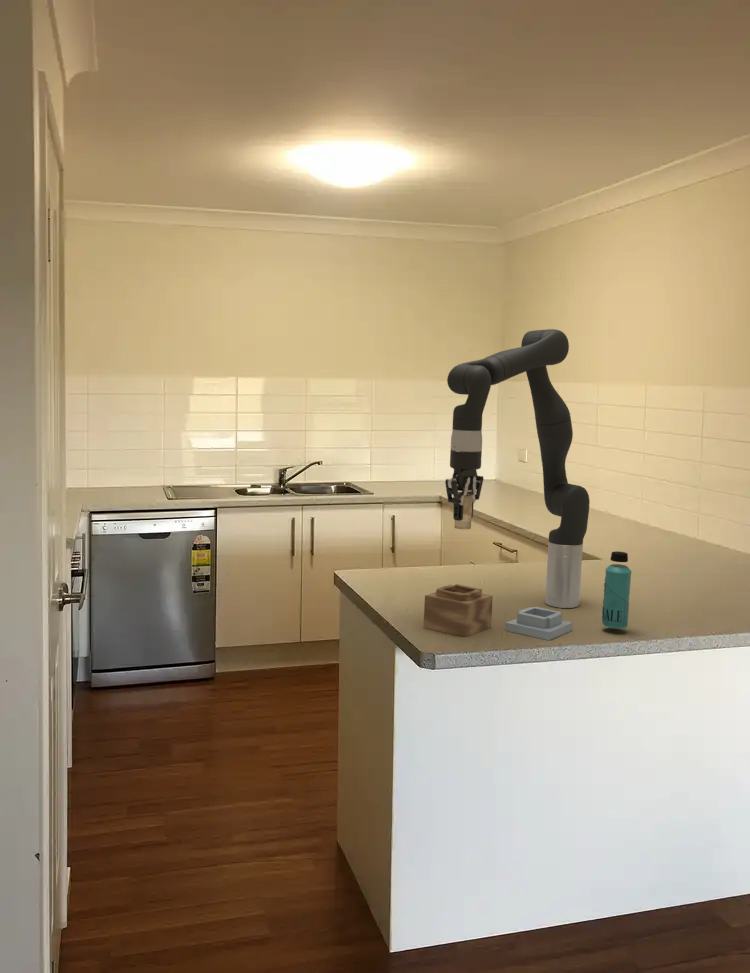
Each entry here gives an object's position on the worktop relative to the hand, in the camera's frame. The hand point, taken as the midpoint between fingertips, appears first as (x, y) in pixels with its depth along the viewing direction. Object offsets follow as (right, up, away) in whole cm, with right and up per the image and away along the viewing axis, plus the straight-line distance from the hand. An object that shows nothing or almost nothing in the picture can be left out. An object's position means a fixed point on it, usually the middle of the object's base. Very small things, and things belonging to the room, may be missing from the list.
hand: (463, 518), depth 232 cm
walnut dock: (-1, -27, +3) cm, 27 cm away
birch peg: (0, -2, 0) cm, 2 cm away
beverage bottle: (+38, -28, +5) cm, 48 cm away
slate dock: (+19, -28, +3) cm, 34 cm away
